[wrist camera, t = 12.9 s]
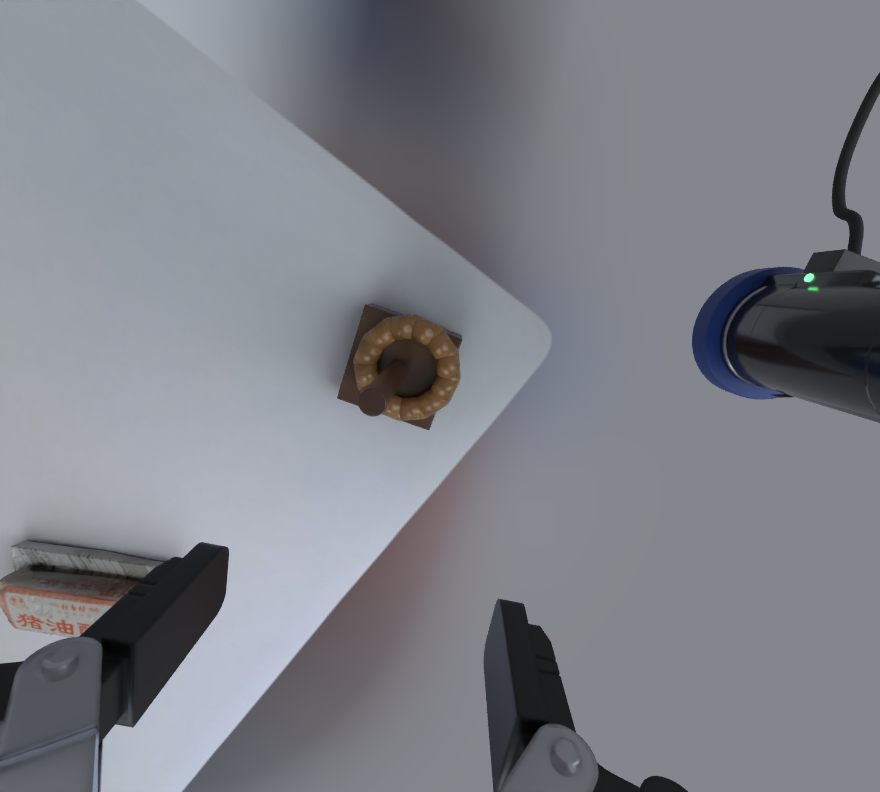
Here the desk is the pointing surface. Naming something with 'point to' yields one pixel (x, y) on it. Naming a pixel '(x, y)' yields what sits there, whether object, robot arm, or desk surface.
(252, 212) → the desk surface
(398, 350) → the peg stand
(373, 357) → the segmented donut ring
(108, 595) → the packaged product
